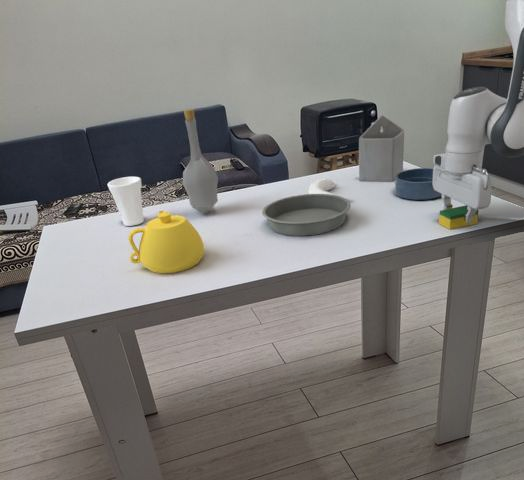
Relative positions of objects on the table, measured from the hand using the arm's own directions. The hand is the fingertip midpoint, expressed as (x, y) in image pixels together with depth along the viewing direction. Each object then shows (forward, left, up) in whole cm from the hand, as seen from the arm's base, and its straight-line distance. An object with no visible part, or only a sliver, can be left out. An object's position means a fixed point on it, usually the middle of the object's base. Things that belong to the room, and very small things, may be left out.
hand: (457, 216), depth 138 cm
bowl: (+14, -24, -2) cm, 28 cm away
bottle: (+75, +2, -2) cm, 75 cm away
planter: (+28, -38, -2) cm, 47 cm away
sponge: (0, 0, -2) cm, 2 cm away
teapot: (+66, +37, -2) cm, 75 cm away
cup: (+94, +14, -2) cm, 95 cm away
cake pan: (+40, +5, -2) cm, 40 cm away
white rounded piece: (+40, -18, -2) cm, 44 cm away
